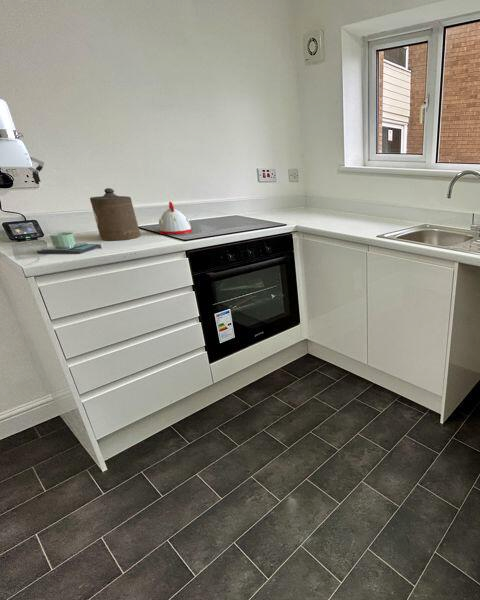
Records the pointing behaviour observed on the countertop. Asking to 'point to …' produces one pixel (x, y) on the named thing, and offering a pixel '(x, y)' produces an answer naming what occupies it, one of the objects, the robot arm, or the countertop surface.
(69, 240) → the bowl
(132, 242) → the countertop surface
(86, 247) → the scale
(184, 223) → the white dome
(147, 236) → the countertop surface
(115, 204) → the wooden container
